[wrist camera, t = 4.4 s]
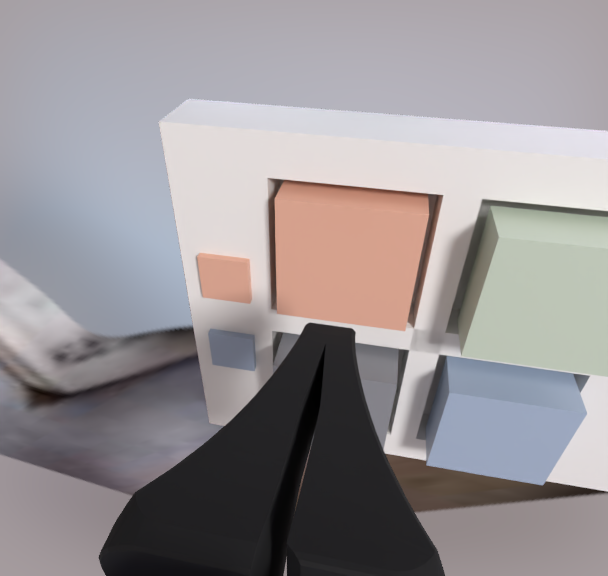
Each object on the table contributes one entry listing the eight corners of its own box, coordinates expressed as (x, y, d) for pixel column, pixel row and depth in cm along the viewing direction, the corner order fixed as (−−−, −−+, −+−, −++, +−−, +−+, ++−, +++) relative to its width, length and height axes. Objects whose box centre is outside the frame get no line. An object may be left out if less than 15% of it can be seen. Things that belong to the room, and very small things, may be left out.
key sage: (655, 222, 15) (683, 257, 13) (592, 337, 18) (609, 377, 16) (490, 205, 15) (499, 237, 14) (457, 320, 18) (461, 356, 17)
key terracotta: (427, 187, 16) (429, 215, 15) (405, 298, 19) (405, 331, 18) (287, 174, 17) (274, 198, 16) (287, 283, 20) (276, 313, 19)
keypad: (795, 145, 15) (865, 184, 12) (593, 445, 25) (611, 497, 22) (188, 98, 17) (154, 124, 15) (224, 386, 27) (207, 428, 25)
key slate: (573, 373, 19) (587, 413, 18) (533, 445, 22) (542, 485, 21) (446, 355, 20) (449, 392, 18) (425, 428, 23) (426, 465, 21)
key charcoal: (398, 349, 20) (397, 384, 18) (384, 421, 23) (382, 457, 21) (283, 332, 21) (272, 365, 19) (284, 405, 24) (275, 438, 22)
